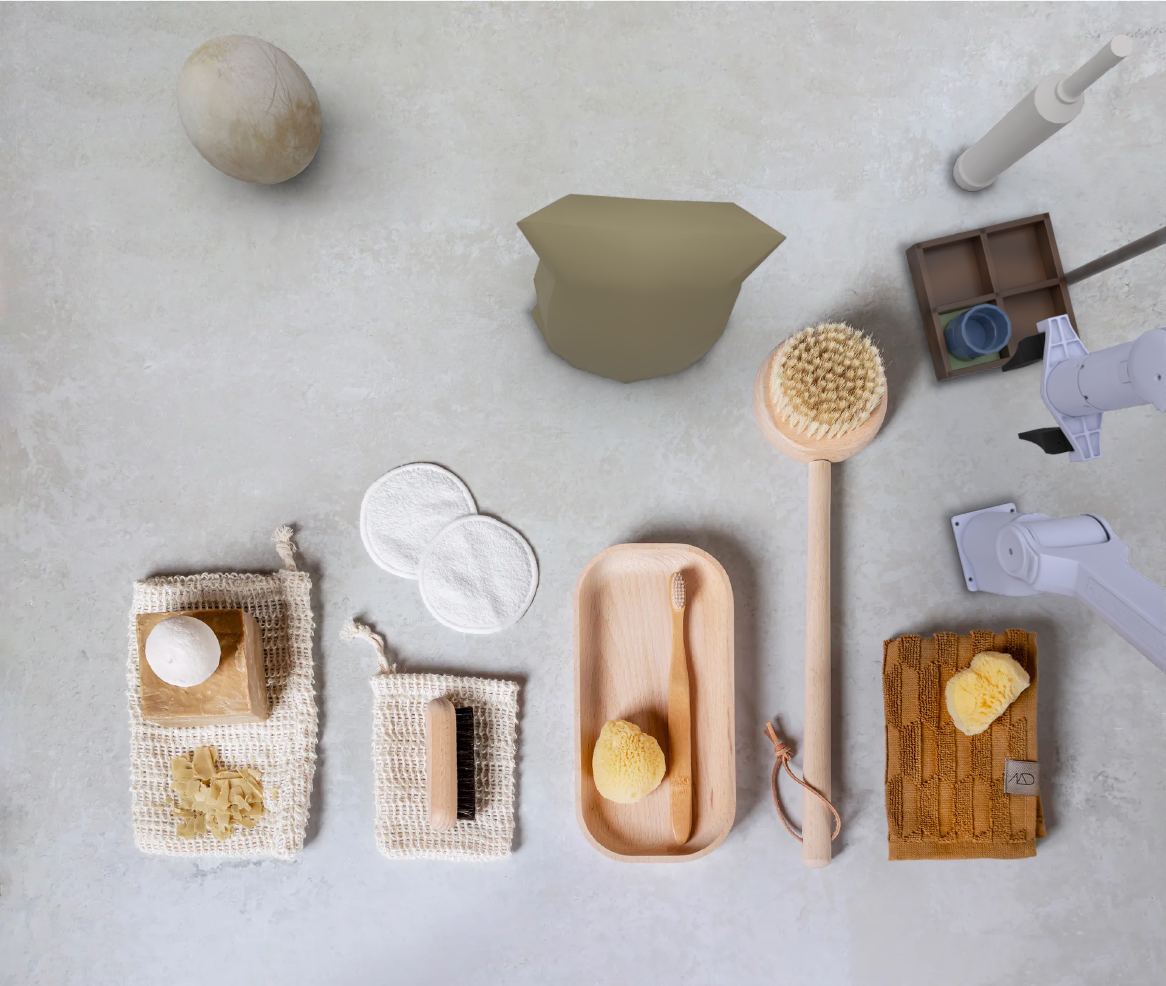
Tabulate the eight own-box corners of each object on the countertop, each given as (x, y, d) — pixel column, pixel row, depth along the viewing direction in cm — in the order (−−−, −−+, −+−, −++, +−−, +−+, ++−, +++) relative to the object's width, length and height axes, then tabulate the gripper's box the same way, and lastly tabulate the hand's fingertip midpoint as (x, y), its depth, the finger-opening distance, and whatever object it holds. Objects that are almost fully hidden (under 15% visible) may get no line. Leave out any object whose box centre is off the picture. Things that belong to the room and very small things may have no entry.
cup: (994, 354, 89) (1017, 347, 85) (948, 365, 89) (967, 358, 85) (983, 309, 89) (1005, 298, 85) (937, 320, 89) (956, 310, 85)
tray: (1083, 347, 90) (1258, 293, 67) (937, 381, 90) (1061, 339, 67) (1051, 216, 90) (1213, 117, 67) (905, 250, 90) (1017, 163, 67)
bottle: (1000, 166, 90) (1161, 36, 65) (978, 200, 90) (1131, 84, 65) (965, 143, 90) (1112, 6, 65) (943, 178, 90) (1082, 54, 65)
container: (727, 257, 90) (801, 133, 60) (720, 392, 90) (792, 336, 60) (534, 246, 90) (512, 118, 60) (527, 382, 90) (501, 321, 60)
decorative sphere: (266, 61, 90) (203, -28, 75) (364, 132, 90) (321, 57, 75) (194, 158, 90) (117, 89, 75) (292, 229, 90) (235, 174, 75)
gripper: (1169, 446, 67) (1069, 455, 80) (1131, 293, 67) (1038, 329, 81) (1095, 464, 67) (1007, 470, 80) (1057, 311, 67) (976, 343, 81)
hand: (1018, 400), depth 81 cm, fingers open, 7 cm apart
